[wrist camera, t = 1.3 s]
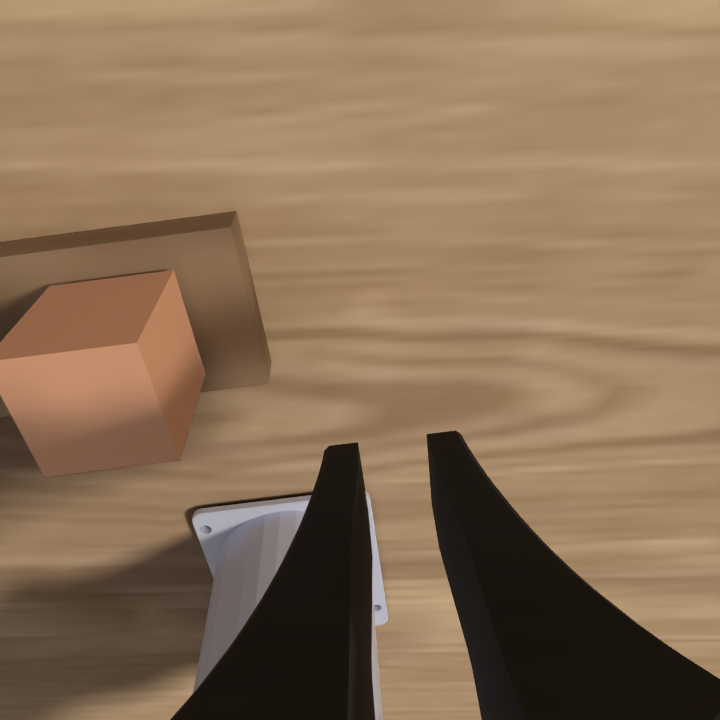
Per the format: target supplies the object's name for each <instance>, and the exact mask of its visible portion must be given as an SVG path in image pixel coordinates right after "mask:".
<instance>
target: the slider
mask: <svg viewBox="0 0 720 720" xmlns="http://www.w3.org/2000/svg"><path fill="white" fill-rule="evenodd" d="M204 378H205V371H204V367H203V364H202V361H201V358H200V354H199V351H198V348H197V344H196V341H195V338H194V335H193V331H192V328H191V325H190V322H189V318H188V315H187V312H186V309H185V305H184V302H183V299H182V295H181V292H180V289H179V286H178V282H177V279H176V276H175V273H174V270H169V271H162V272H154V273H146V274H138V275H131V276H123V277H115V278H108V279H100V280H92V281H84V282H77V283H69V284H61V285H53V286H49V287H48V288H47V289H46V291H45V292H44V293H43V294H42V295H41V296H40V297H39V299H38V300H37V301H36V302H35V303H34V304H33V305H32V307H31V308H30V309H29V310H28V311H27V312H26V313H25V315H24V316H23V317H22V318H21V319H20V320H19V321H18V323H17V324H16V325H15V326H14V327H13V328H12V329H11V331H10V332H9V333H8V334H7V335H6V336H5V337H4V339H3V340H2V341H1V342H0V395H1V397H2V399H3V401H4V403H5V405H6V407H7V408H8V410H9V412H10V414H11V416H12V418H13V420H14V421H15V423H16V425H17V427H18V429H19V431H20V433H21V434H22V436H23V438H24V440H25V442H26V444H27V446H28V448H29V449H30V451H31V453H32V455H33V457H34V459H35V461H36V462H37V464H38V466H39V468H40V470H41V472H42V474H43V475H44V477H49V476H57V475H65V474H73V473H81V472H90V471H98V470H106V469H114V468H122V467H130V466H139V465H147V464H155V463H163V462H171V461H179V460H180V459H181V456H182V452H183V449H184V445H185V442H186V439H187V435H188V432H189V428H190V425H191V422H192V418H193V415H194V412H195V408H196V405H197V401H198V398H199V395H200V391H201V388H202V384H203V381H204Z"/></svg>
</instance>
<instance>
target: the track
mask: <svg viewBox="0 0 720 720" xmlns="http://www.w3.org/2000/svg"><path fill="white" fill-rule="evenodd" d="M169 270H174V273H175V276H176V279H177V282H178V286H179V289H180V292H181V295H182V299H183V302H184V305H185V309H186V312H187V315H188V318H189V322H190V325H191V328H192V331H193V335H194V338H195V341H196V344H197V348H198V351H199V354H200V358H201V361H202V364H203V367H204V371H205V378H204V381H203V384H202V388H201V391H200V392H207V391H215V390H223V389H231V388H239V387H247V386H255V385H263V384H268V383H269V375H270V368H271V358H270V354H269V349H268V345H267V341H266V336H265V332H264V328H263V324H262V319H261V315H260V311H259V306H258V302H257V298H256V294H255V289H254V285H253V281H252V276H251V272H250V268H249V263H248V259H247V255H246V251H245V246H244V242H243V238H242V233H241V229H240V225H239V220H238V216H237V212H236V211H235V212H228V213H220V214H212V215H205V216H197V217H189V218H182V219H174V220H167V221H159V222H151V223H144V224H136V225H128V226H121V227H113V228H106V229H98V230H90V231H83V232H75V233H67V234H60V235H52V236H45V237H37V238H29V239H22V240H14V241H6V242H0V342H1V341H2V340H3V339H4V337H5V336H6V335H7V334H8V333H9V332H10V331H11V329H12V328H13V327H14V326H15V325H16V324H17V323H18V321H19V320H20V319H21V318H22V317H23V316H24V315H25V313H26V312H27V311H28V310H29V309H30V308H31V307H32V305H33V304H34V303H35V302H36V301H37V300H38V299H39V297H40V296H41V295H42V294H43V293H44V292H45V291H46V289H47V288H48V287H49V286H53V285H61V284H69V283H77V282H84V281H92V280H100V279H108V278H115V277H123V276H131V275H138V274H146V273H154V272H162V271H169ZM7 416H11V414H10V412H9V410H8V408H7V407H6V405H5V403H4V401H3V399H2V397H1V395H0V417H7Z"/></svg>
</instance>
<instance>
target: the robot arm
mask: <svg viewBox="0 0 720 720" xmlns="http://www.w3.org/2000/svg"><path fill="white" fill-rule="evenodd" d="M427 445H428V458H429V472H430V486H431V499H432V508H433V514H434V519H435V525H436V531H437V537H438V543H439V548H440V552H441V556H442V559H443V563H444V566H445V570H446V574H447V577H448V581H449V584H450V588H451V591H452V595H453V599H454V602H455V606H456V609H457V613H458V616H459V620H460V623H461V627H462V630H463V634H464V638H465V641H466V645H467V648H468V653H469V657H470V661H471V665H472V669H473V675H474V680H475V685H476V691H477V696H478V701H479V707H480V712H481V717H482V720H720V679H719V678H717V677H716V676H714V675H712V674H711V673H709V672H708V671H706V670H705V669H703V668H701V667H700V666H698V665H697V664H695V663H694V662H692V661H690V660H689V659H687V658H686V657H684V656H683V655H681V654H680V653H678V652H677V651H675V650H674V649H672V648H671V647H669V646H668V645H667V644H665V643H664V642H662V641H661V640H660V639H658V638H657V637H655V636H654V635H653V634H651V633H650V632H648V631H647V630H646V629H644V628H643V627H641V626H640V625H639V624H637V623H636V622H635V621H634V620H632V619H631V618H630V617H629V616H627V615H626V614H625V613H623V612H622V611H621V610H620V609H618V608H617V607H616V606H615V605H613V604H612V603H611V602H610V601H608V600H607V599H606V598H605V597H603V596H602V595H601V594H600V593H598V592H597V591H596V590H595V589H593V588H592V587H591V586H590V585H589V584H588V583H587V582H585V581H584V580H583V579H582V578H581V577H580V576H579V575H578V574H576V573H575V572H574V571H573V570H572V569H571V568H570V567H569V566H568V565H567V564H566V563H565V562H564V561H562V560H561V559H560V558H559V557H558V556H557V555H556V554H555V553H554V552H553V551H552V550H551V549H550V548H549V547H548V546H547V545H546V544H545V543H544V542H543V541H542V540H541V539H540V538H539V537H538V535H537V534H536V533H535V532H534V531H533V530H532V529H531V528H530V527H529V526H528V525H527V523H526V522H525V521H524V520H523V519H522V518H521V517H520V516H519V514H518V513H517V512H516V511H515V510H514V509H513V507H512V506H511V505H510V504H509V503H508V501H507V500H506V499H505V498H504V496H503V495H502V494H501V493H500V491H499V490H498V489H497V488H496V486H495V485H494V484H493V482H492V481H491V480H490V478H489V477H488V476H487V474H486V473H485V471H484V470H483V469H482V467H481V466H480V464H479V463H478V461H477V460H476V458H475V457H474V455H473V454H472V452H471V451H470V449H469V447H468V446H467V444H466V442H465V441H464V439H463V437H462V435H461V434H460V433H458V432H457V431H450V432H441V433H433V434H427ZM192 524H193V526H194V529H195V531H196V534H197V537H198V539H199V542H200V545H201V547H202V550H203V552H204V555H205V558H206V560H207V563H208V566H209V568H210V571H211V573H212V576H213V579H214V581H213V586H212V592H211V597H210V603H209V608H208V614H207V619H206V625H205V630H204V636H203V641H202V647H201V652H200V658H199V663H198V668H197V674H196V679H195V685H194V690H193V694H192V696H191V697H190V698H189V699H188V700H187V701H186V703H185V704H184V705H183V706H182V707H181V708H180V709H179V710H178V712H177V713H176V714H175V715H174V716H173V717H172V718H171V719H170V720H383V719H382V706H381V693H380V680H379V667H378V654H377V642H376V629H375V626H377V625H382V624H384V623H386V622H387V620H388V614H387V607H386V600H385V593H384V587H383V580H382V573H381V567H380V560H379V554H378V547H377V540H376V534H375V527H374V520H373V514H372V507H371V500H370V495H369V493H368V492H366V491H365V486H364V480H363V473H362V467H361V460H360V454H359V447H358V443H350V444H341V445H333V446H329V447H328V448H327V449H326V450H325V451H324V456H323V460H322V464H321V468H320V472H319V475H318V478H317V481H316V484H315V487H314V490H313V493H312V495H308V496H300V497H292V498H283V499H275V500H267V501H259V502H250V503H242V504H234V505H226V506H217V507H209V508H201V509H198V510H196V511H195V512H194V514H193V517H192ZM205 526H209V527H205Z"/></svg>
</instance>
